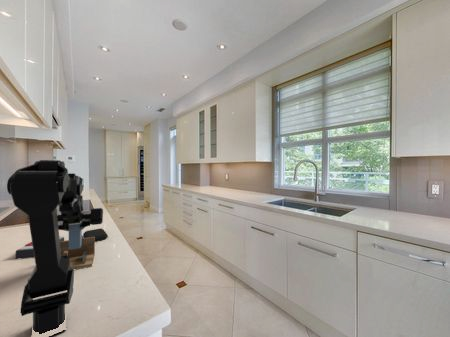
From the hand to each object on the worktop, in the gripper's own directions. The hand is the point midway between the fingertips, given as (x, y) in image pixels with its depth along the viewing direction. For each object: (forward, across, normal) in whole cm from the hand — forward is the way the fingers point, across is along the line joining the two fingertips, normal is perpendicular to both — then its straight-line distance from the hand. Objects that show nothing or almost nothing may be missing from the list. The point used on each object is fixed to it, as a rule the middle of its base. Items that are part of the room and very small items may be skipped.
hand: (75, 229), depth 78 cm
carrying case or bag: (+30, -4, -10) cm, 32 cm away
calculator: (+25, +15, -5) cm, 29 cm away
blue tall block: (+4, 0, +6) cm, 7 cm away
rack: (+9, +1, +10) cm, 13 cm away
